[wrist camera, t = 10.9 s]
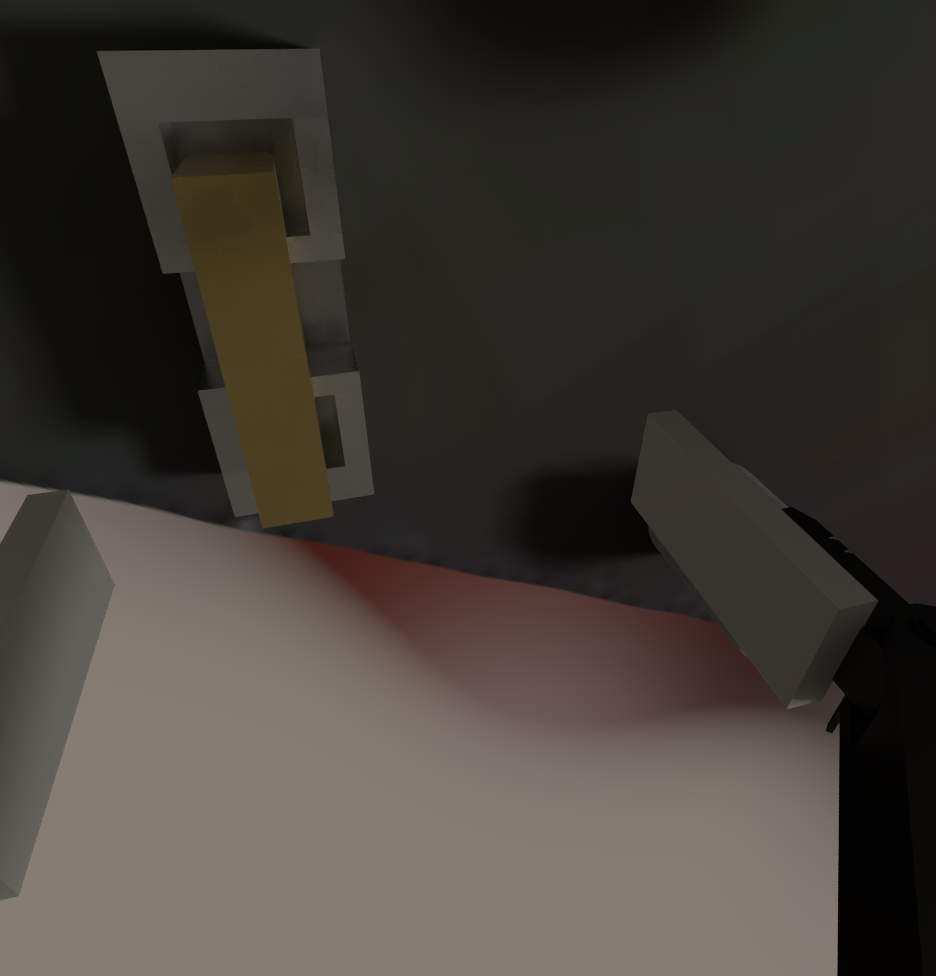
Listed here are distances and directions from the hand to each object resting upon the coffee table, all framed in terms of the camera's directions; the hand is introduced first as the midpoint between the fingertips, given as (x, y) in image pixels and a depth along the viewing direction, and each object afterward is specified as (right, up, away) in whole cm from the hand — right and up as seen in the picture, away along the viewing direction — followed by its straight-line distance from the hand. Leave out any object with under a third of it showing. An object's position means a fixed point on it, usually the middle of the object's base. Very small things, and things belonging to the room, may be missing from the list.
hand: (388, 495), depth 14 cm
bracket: (-8, +9, +14) cm, 19 cm away
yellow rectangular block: (-7, +8, +13) cm, 17 cm away
